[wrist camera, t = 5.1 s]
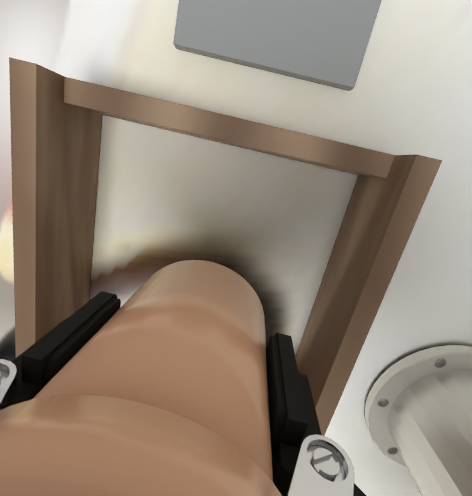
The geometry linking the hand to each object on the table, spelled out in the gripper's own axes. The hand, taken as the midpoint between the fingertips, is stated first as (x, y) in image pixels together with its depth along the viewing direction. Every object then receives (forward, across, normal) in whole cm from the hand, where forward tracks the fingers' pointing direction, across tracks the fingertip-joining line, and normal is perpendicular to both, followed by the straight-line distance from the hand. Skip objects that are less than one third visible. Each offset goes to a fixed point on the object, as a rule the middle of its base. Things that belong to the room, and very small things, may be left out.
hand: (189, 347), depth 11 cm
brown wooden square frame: (+11, +1, 0) cm, 11 cm away
